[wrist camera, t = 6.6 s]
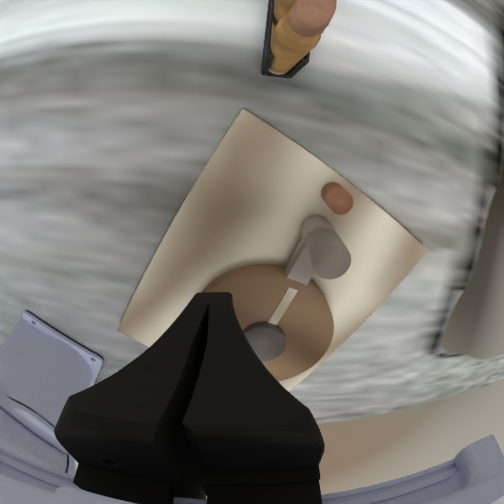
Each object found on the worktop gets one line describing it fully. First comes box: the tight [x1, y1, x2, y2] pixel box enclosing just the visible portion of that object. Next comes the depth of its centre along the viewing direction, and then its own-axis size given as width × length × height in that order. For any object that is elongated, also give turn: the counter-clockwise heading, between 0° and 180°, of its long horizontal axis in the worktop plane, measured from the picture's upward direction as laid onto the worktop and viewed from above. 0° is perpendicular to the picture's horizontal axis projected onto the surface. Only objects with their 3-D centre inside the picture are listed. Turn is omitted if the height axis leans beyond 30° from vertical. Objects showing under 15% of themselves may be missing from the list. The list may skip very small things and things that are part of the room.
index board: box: [117, 109, 427, 392], centre depth 21 cm, size 16×19×3 cm
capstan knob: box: [202, 216, 351, 382], centre depth 19 cm, size 14×10×4 cm
